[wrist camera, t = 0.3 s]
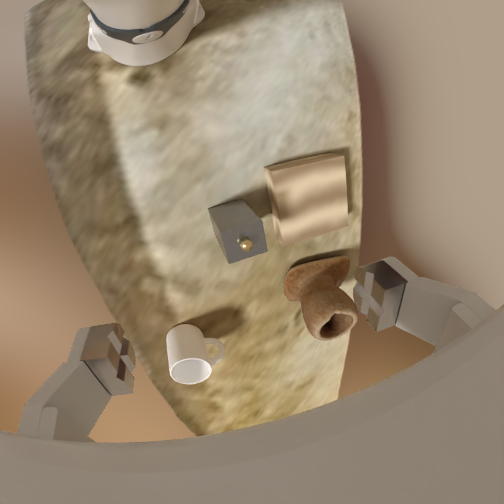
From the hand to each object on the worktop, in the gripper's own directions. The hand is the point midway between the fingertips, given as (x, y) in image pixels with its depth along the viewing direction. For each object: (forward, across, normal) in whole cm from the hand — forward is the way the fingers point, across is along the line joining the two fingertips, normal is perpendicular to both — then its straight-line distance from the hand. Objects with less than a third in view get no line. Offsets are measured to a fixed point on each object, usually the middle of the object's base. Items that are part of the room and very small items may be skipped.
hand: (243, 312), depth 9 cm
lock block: (+39, -3, +12) cm, 41 cm away
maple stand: (+40, -18, +11) cm, 45 cm away
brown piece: (+40, -20, +31) cm, 54 cm away
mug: (+38, +9, +36) cm, 54 cm away
